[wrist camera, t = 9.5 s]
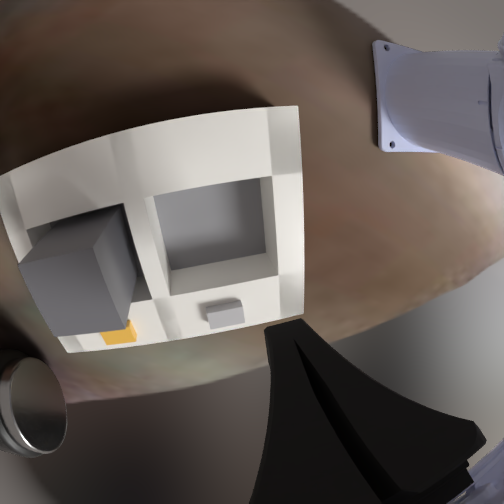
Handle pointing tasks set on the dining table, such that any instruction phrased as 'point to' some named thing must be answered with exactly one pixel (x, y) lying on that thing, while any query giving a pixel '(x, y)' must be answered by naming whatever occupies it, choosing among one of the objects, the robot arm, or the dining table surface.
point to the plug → (83, 274)
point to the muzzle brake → (29, 406)
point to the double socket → (182, 219)
